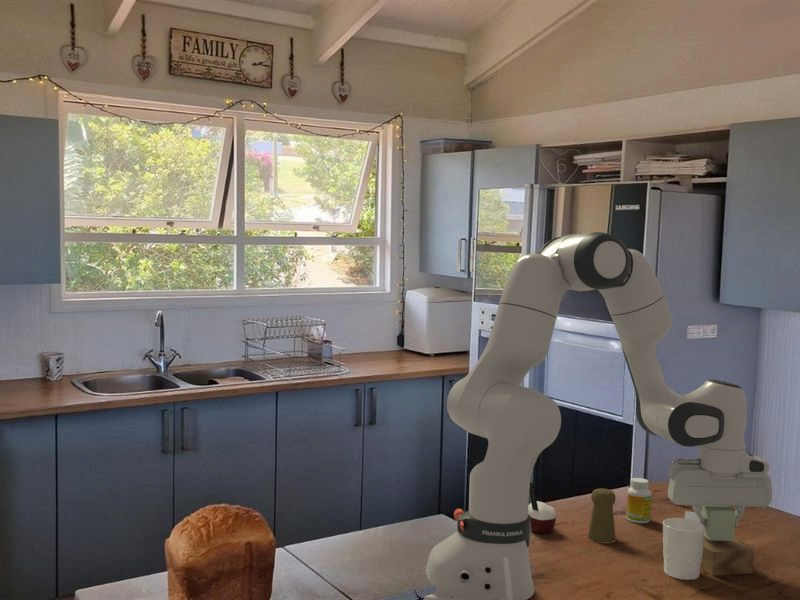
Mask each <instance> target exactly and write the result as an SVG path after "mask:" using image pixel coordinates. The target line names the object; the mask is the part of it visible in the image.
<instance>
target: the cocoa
mask: <svg viewBox="0 0 800 600" xmlns="http://www.w3.org/2000/svg"><path fill="white" fill-rule="evenodd" d="M529 500H530V503H529V505H528V514H529V517H530V522H531V530H532V531H533V532H534V533H536V534H541V535H547V534H549V533H551V532H552V531H553V530H555V529H554V528H555V526H556V521H557V520H556V519H557V513H556V509H555V508H554V507H553V506H550V505H548V504H547V503H545V502H543V501H539V500H537V496H536V491H535V486H534V483H533V482H531V481H530V488H529Z"/></svg>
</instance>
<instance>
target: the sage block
mask: <svg viewBox="0 0 800 600" xmlns="http://www.w3.org/2000/svg"><path fill="white" fill-rule="evenodd" d="M700 512H701V514H702V516H705V517H706V518H707V527H705V533H704V536H705V537H706V538H707V539H709V540H720V541H734V539H735V531H736V530H735V528H736V527H735V513H736V512H735V510H734V508H733V509H732V507H731V506H703V510H700Z"/></svg>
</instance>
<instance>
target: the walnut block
mask: <svg viewBox="0 0 800 600" xmlns="http://www.w3.org/2000/svg"><path fill="white" fill-rule="evenodd" d="M753 564H754V549H753V548H751V547H750V546H748V545H747V544H744V543H743V542H741V541H740V540H738V539H736V538H734V541H720V540H709V539H707V538H706V537H705V536H704V543H703V553H702V559H701V564H700V569H701V568H702V570H703V569H704V570H705V571H704V570H703V571H704V572H706V573H708V574H709V575H710V576H713V577H714V576H729V575H742V574H743V575H745V574H753V571H754V570H753V569H754V568H753Z"/></svg>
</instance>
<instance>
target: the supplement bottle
mask: <svg viewBox="0 0 800 600" xmlns="http://www.w3.org/2000/svg"><path fill="white" fill-rule="evenodd" d="M649 484H650V483H649V480H648V479H646V478H643V477H633V478H630V486H631V487H628V489H627V495H626V496H627V497H626V498H627V500H626V501H627V502H626V519H627V521H628V522H631V523H634V522H635V523H636V524H648V523H650V520H651V510H652V509H651V507H652V505H651V504H652V503H651V502H652V491H651V489H649ZM635 523H634V524H635Z"/></svg>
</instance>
